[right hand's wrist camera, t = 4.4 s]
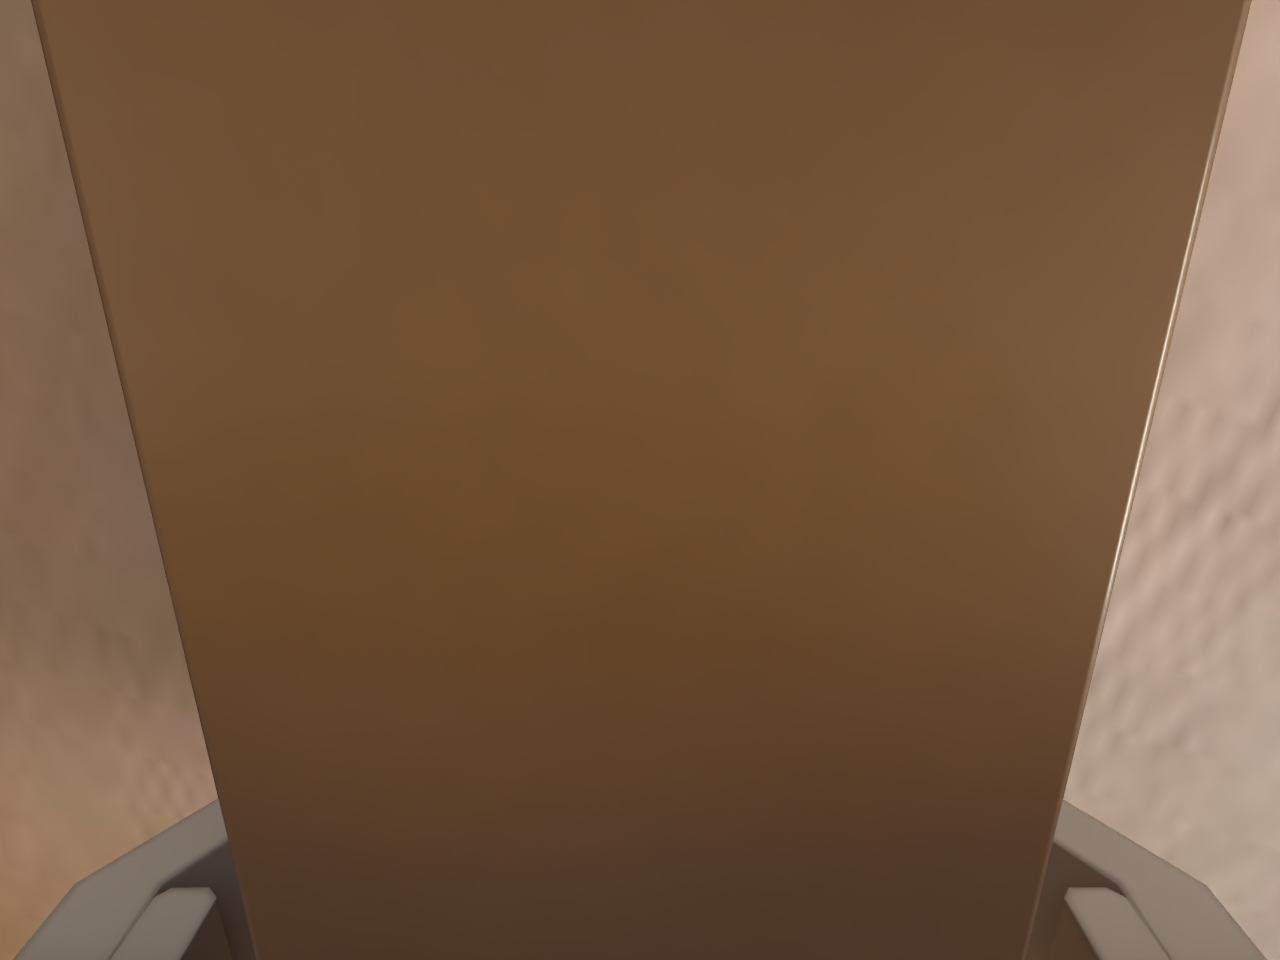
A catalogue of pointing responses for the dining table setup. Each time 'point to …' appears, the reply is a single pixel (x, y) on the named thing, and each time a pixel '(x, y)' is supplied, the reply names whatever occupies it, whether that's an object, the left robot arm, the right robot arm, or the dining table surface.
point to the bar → (641, 443)
